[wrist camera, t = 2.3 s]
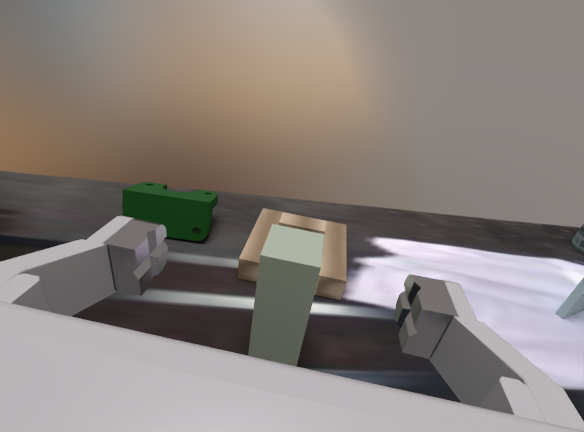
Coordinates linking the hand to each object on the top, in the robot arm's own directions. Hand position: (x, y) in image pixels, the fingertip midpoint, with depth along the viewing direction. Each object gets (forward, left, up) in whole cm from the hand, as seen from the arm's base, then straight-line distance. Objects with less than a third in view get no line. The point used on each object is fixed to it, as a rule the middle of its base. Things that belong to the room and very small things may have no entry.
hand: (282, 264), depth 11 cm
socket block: (0, +26, -20) cm, 33 cm away
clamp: (-18, +28, -20) cm, 39 cm away
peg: (0, +12, -20) cm, 23 cm away
